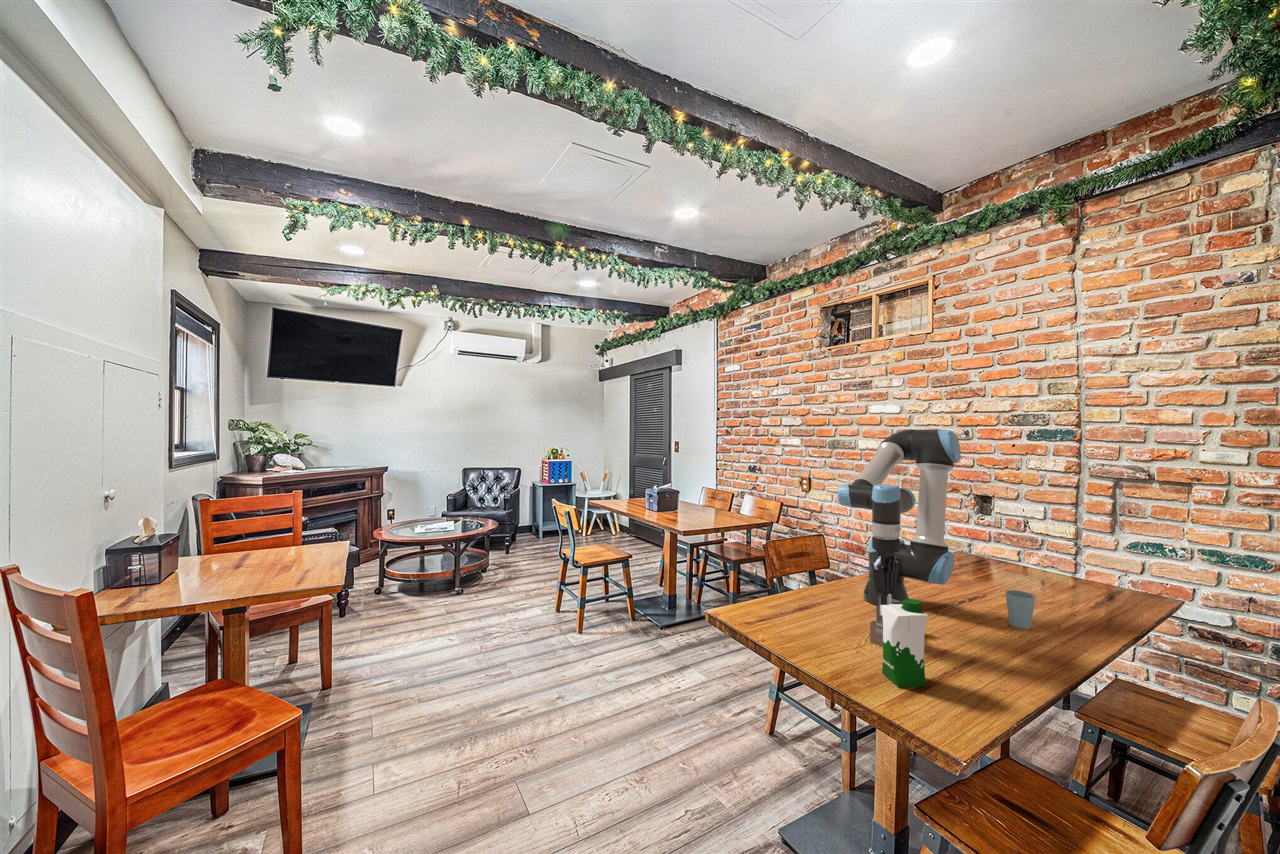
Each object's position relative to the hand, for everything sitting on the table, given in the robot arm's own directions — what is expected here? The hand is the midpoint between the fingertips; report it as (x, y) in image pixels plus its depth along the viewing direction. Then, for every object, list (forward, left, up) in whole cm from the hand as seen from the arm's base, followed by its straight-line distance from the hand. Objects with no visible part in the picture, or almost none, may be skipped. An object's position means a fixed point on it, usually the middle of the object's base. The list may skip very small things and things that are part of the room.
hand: (885, 615), depth 143 cm
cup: (+20, +49, -8) cm, 54 cm away
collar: (0, +4, -8) cm, 9 cm away
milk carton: (+13, -18, -8) cm, 23 cm away
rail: (0, +6, -8) cm, 10 cm away
